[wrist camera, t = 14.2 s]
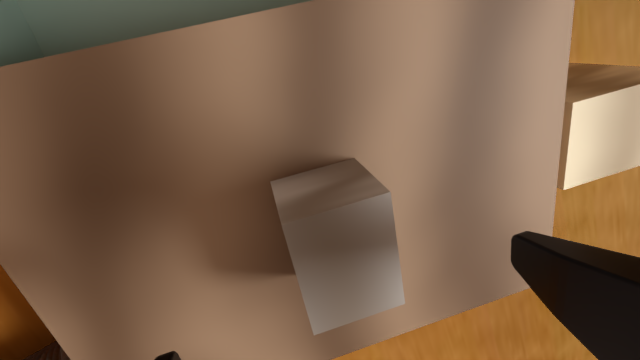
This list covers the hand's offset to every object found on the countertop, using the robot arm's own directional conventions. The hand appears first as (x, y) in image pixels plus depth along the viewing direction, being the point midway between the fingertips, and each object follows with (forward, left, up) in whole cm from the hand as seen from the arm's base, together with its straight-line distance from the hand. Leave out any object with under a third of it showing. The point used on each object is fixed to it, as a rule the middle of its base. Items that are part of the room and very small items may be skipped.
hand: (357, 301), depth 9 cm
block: (-14, 0, -11) cm, 18 cm away
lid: (0, 0, -5) cm, 5 cm away
